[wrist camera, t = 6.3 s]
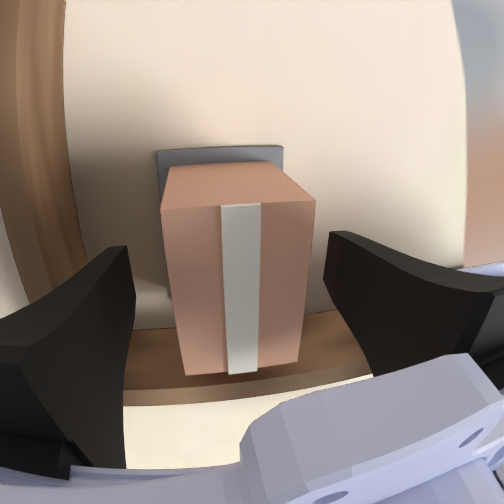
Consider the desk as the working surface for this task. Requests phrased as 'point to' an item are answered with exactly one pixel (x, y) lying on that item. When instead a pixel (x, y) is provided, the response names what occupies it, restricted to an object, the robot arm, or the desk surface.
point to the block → (236, 264)
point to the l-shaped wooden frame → (69, 237)
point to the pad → (215, 158)
